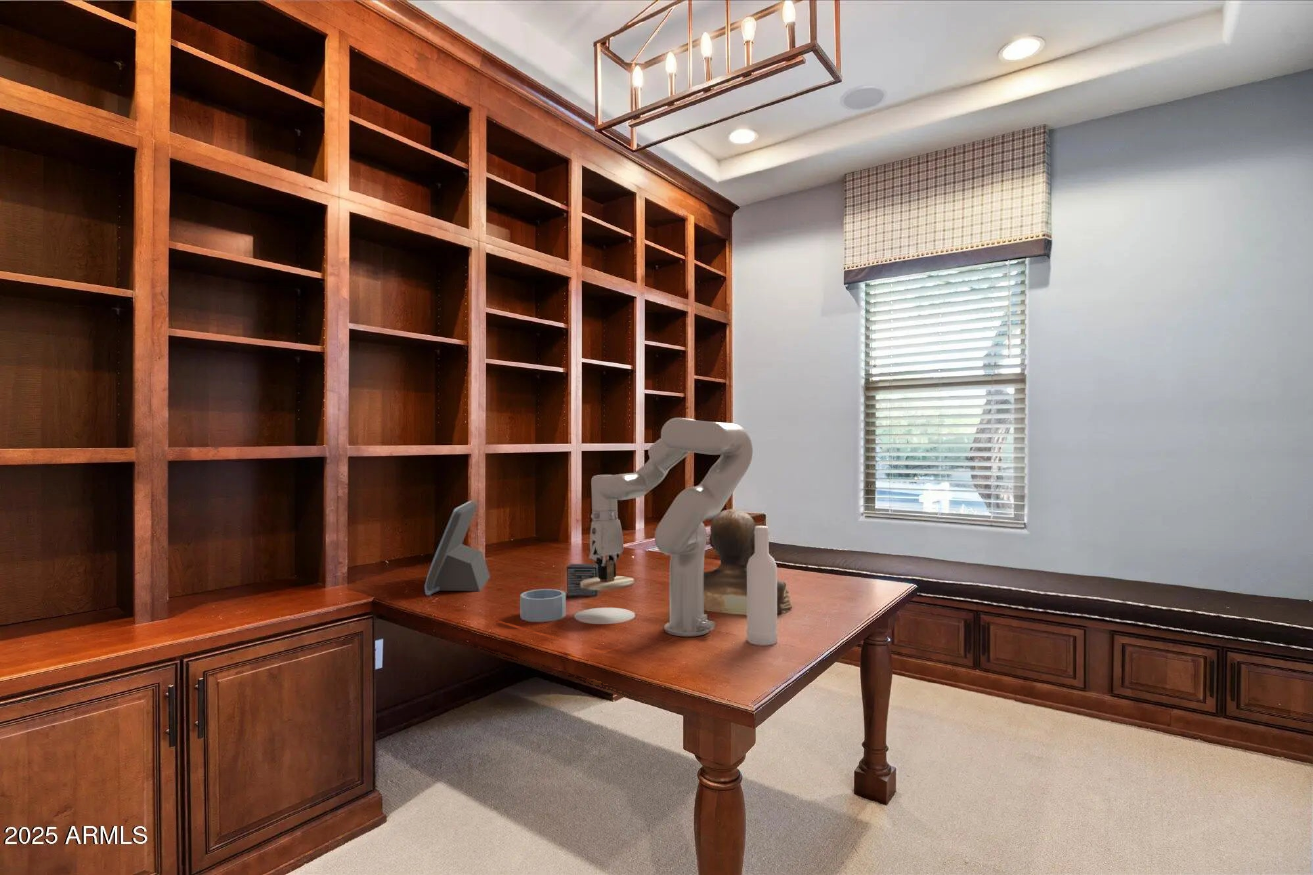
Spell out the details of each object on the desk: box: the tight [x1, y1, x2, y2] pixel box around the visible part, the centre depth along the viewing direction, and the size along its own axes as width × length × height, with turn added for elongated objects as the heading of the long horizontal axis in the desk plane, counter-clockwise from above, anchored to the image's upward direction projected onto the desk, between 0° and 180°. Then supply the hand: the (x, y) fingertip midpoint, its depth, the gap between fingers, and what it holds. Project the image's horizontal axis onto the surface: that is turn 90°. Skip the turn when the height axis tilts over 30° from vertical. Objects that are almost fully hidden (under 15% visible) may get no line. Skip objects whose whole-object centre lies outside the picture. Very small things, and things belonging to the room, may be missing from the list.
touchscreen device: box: [424, 500, 491, 597], centre depth 238 cm, size 35×20×30 cm, turn 6°
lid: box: [580, 559, 635, 591], centre depth 192 cm, size 16×16×7 cm
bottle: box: [746, 525, 779, 647], centre depth 169 cm, size 8×8×30 cm
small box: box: [566, 563, 601, 598], centre depth 220 cm, size 11×6×10 cm, turn 84°
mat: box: [574, 607, 636, 625], centre depth 192 cm, size 18×18×1 cm
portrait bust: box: [704, 508, 793, 616], centre depth 206 cm, size 21×35×31 cm, turn 63°
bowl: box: [519, 588, 567, 623], centre depth 192 cm, size 13×13×7 cm
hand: (607, 577), depth 192 cm, fingers closed on lid, 3 cm apart
